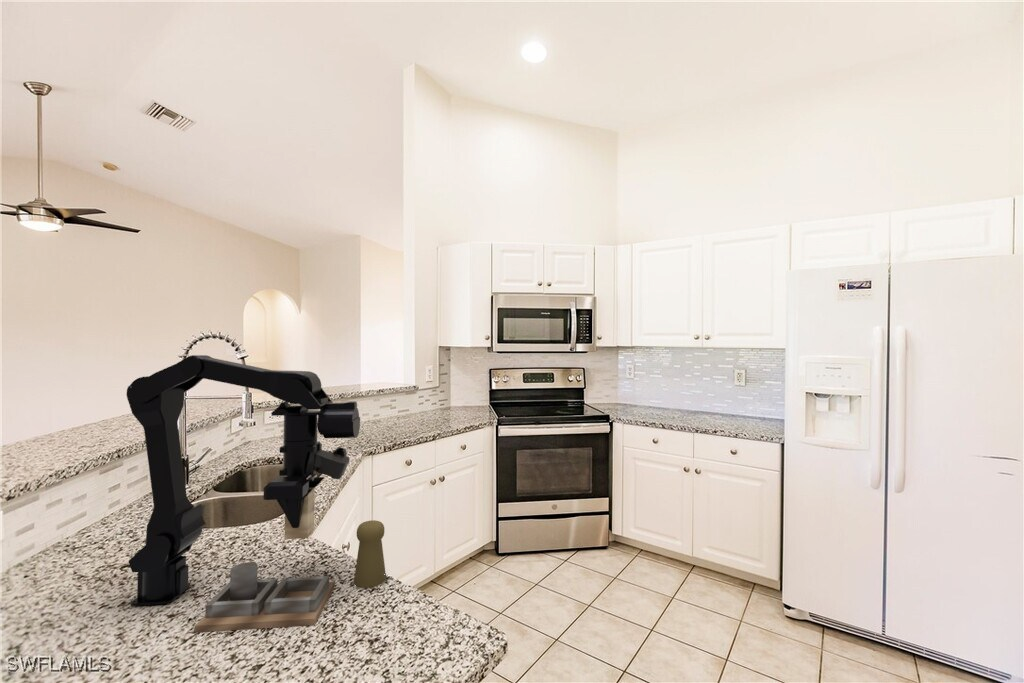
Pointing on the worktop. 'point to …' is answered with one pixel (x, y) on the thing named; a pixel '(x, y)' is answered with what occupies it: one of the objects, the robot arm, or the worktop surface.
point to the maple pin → (303, 519)
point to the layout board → (265, 601)
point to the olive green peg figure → (370, 555)
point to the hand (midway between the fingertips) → (299, 523)
